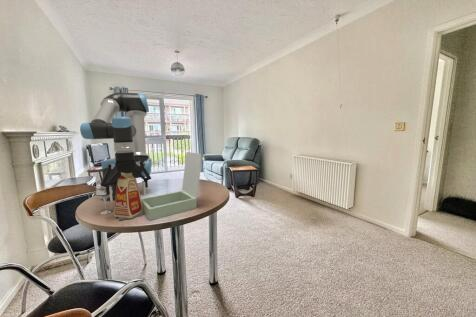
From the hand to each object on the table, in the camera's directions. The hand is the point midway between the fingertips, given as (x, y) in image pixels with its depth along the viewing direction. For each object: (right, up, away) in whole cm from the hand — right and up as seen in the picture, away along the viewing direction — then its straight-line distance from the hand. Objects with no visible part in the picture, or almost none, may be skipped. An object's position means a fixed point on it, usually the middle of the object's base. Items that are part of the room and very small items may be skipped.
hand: (128, 197), depth 91 cm
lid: (+26, +10, +14) cm, 31 cm away
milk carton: (0, -8, +1) cm, 8 cm away
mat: (0, -8, +1) cm, 8 cm away
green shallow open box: (+16, -7, +8) cm, 19 cm away
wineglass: (-13, -8, +5) cm, 16 cm away
